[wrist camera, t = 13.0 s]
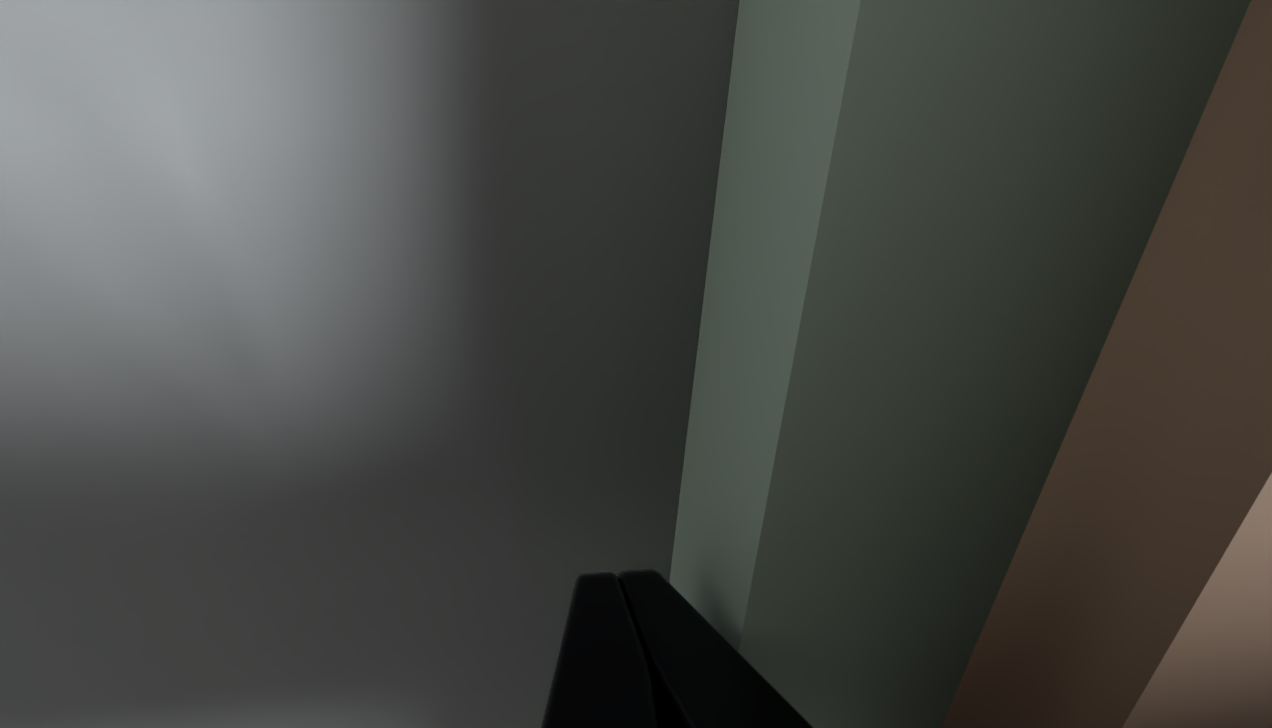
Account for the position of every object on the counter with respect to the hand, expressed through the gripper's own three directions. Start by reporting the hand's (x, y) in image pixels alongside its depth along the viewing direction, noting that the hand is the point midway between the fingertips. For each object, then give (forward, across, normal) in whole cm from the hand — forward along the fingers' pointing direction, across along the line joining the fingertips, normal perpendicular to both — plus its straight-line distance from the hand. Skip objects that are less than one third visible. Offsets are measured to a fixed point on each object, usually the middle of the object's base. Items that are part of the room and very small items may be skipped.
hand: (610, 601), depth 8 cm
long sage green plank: (+1, -4, 0) cm, 4 cm away
